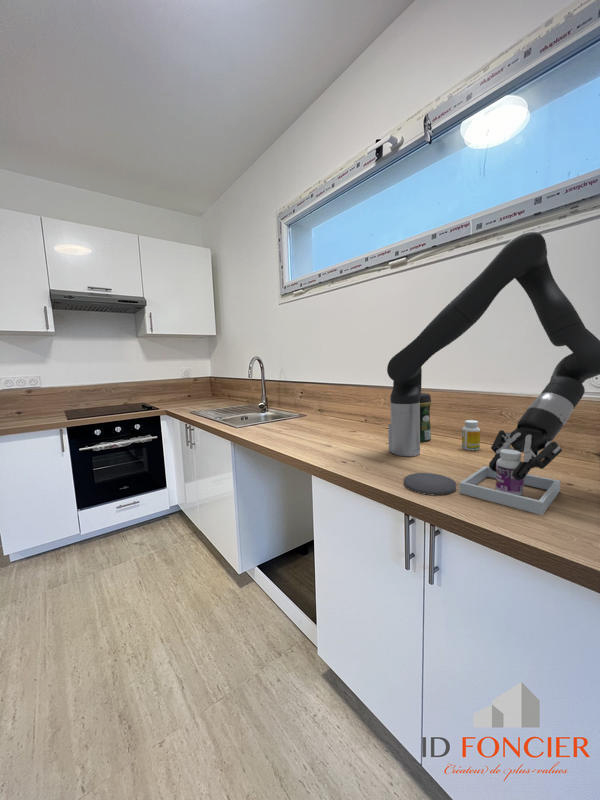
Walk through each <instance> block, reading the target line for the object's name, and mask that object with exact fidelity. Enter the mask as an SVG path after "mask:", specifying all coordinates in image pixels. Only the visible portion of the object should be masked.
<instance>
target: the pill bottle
mask: <svg viewBox="0 0 600 800" xmlns="http://www.w3.org/2000/svg"><path fill="white" fill-rule="evenodd" d="M511 449H512V448H511ZM511 449H503V450H500V457H501V458H499V459H498V460H497V462H496V479H495V490H498V491H502V492H506V493H510V494H514V495H519V496H522V495H523V494H524V486H525V485H524V478H523V479H521V480H520V481H519V480H516V479H515V478H514V477H513V476H512V473H513V472H514V471H515V469H516V468H517V466H518V465H519V464H520V462H523V461H522V460H521V458H522V452H519V451H516V450H511Z"/></svg>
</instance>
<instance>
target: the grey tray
mask: <svg viewBox="0 0 600 800" xmlns="http://www.w3.org/2000/svg"><path fill="white" fill-rule="evenodd" d="M486 478H492V479H495V480H496V472H494V471H492V470H491V469H490V468H489V466H486V465H484V466H483V467H481V468H480V469H478V470H477V471H475V472H474V473H472V474H471V475H469V476H467V477H466V478H465V479H463V480H462V481H460V482H459V494H462V495H466V496H469V497H474V498H477V499H480V500H485V501H488V502H492V503H496V504H500V505H503V506H507V507H511V508H514V509H518V510H521V511H526V512H530V513H533V514H537V515H540V516H543V515H544V514H545V512H546V511H547V509H548V508H549V507H550V505H551V504H552V503H553V501H554V500H555V499H556V498H557V496H558V494H559V493H560V492H561V480H559V479H554V478H548V477H542V476H538V475H534V474H527V475H526V476H525V478H524V486H527V487H528V486H529V487H533V488H538V489H542V490H546V491H545V492H544V493H543V495H542V496H541V497H540V499H534V498H530V497H527V496H522V495H520V496H519V495H514V494H510V493H506V492H502V491H498V490H496V489H493V488H490V487H489V488H488V487H485V486H482V485H478V484H479V483H481V482H482V481H483V480H484V479H486Z"/></svg>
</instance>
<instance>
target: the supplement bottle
mask: <svg viewBox="0 0 600 800" xmlns="http://www.w3.org/2000/svg"><path fill="white" fill-rule="evenodd" d="M478 426H479V421H477V420H475V419H474V420H473V419H469V420H468V419H467V420H464V426H463V427H462V429H461V449H463V450H465V451H471V450H472V451H473V452H474V450H476V451H479V450H480V447H481V446H480V445H481V429H480V427H478Z"/></svg>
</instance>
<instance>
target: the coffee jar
mask: <svg viewBox="0 0 600 800" xmlns="http://www.w3.org/2000/svg"><path fill="white" fill-rule="evenodd" d="M431 405H432V397H431V394H429V393H426V392H421V394H420V442H424V443H425V442H428V441H430V440H431V439H432V433H431V432H432V430H431V418H430V417H431V416H430V413H431V412H430V411H431Z"/></svg>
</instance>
